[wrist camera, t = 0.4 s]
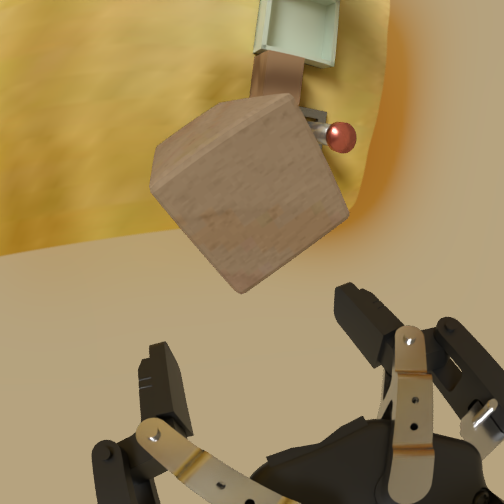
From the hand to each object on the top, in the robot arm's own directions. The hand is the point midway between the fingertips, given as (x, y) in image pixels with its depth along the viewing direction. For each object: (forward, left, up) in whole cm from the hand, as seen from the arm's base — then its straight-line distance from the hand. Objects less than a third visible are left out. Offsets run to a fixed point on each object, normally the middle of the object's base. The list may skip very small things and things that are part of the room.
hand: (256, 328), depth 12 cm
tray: (-23, +11, -27) cm, 37 cm away
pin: (-8, +14, -27) cm, 31 cm away
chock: (-14, +9, -27) cm, 32 cm away
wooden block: (-4, +2, -27) cm, 27 cm away
